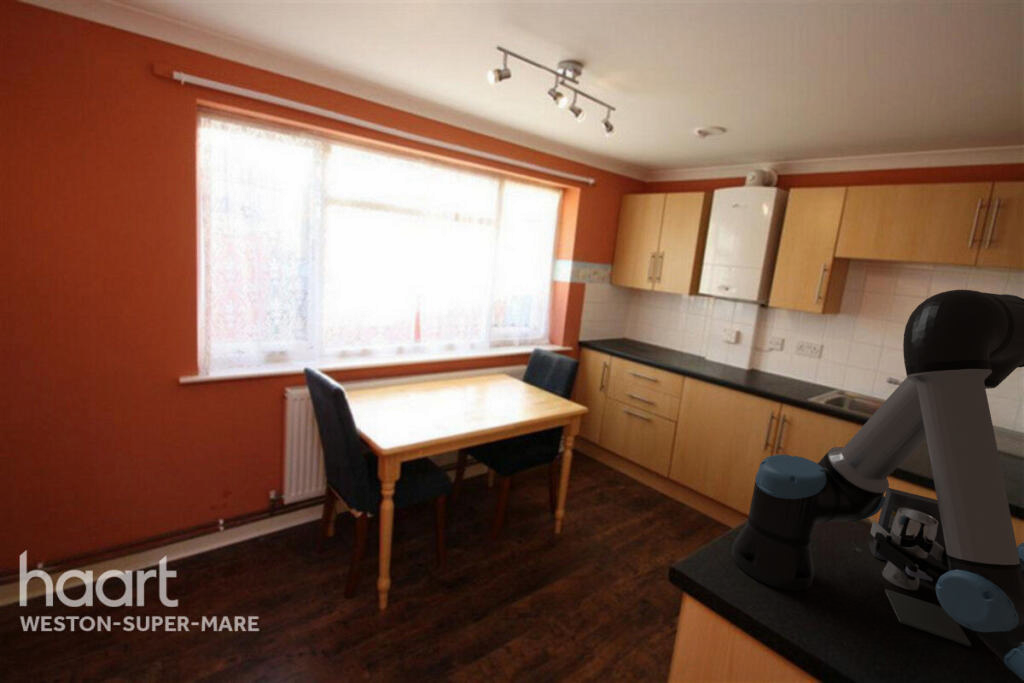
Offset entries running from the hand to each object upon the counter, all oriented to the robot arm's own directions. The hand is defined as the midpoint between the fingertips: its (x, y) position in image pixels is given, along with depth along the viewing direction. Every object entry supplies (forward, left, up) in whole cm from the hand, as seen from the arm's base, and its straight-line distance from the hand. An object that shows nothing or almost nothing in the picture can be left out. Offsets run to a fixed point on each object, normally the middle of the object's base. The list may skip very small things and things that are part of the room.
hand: (896, 532), depth 102 cm
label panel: (+8, +4, -9) cm, 12 cm away
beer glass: (+1, -5, -9) cm, 10 cm away
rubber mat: (+2, -16, -9) cm, 18 cm away
